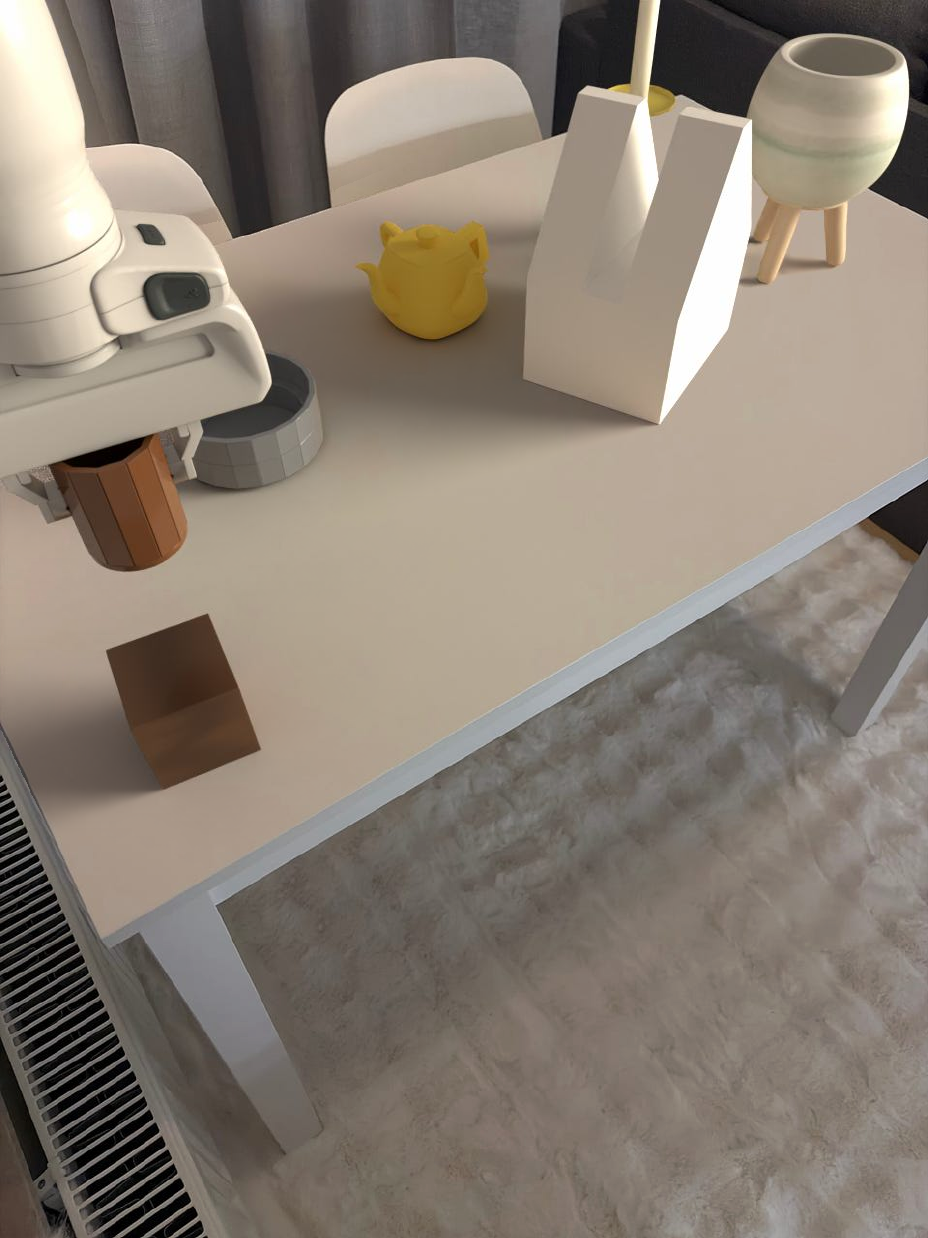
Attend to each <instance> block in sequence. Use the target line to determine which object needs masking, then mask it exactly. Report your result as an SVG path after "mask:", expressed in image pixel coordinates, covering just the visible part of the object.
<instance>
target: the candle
mask: <svg viewBox="0 0 928 1238" xmlns="http://www.w3.org/2000/svg"><path fill="white" fill-rule="evenodd" d="M660 4H661V0H639V4H638V13H637V22H636V31H635V32H636V33H635V40H634V49H633V56H632V57H633V58H632V66H631V75H630V83H625V84H617V85H615V86H612V87H609V88H607V90H612V91H617V92H621V93H626V94H631V95H636V96H641V97H646V98H647V104H648V111H649V118H651V117H656V116H657V117H658V116H662V115H663V114H666V113H669V112H670V111H671V110H672V109H673V108H674V107H675V105H676V95H674V94H673V93H672V92H671V91H670V90H668V89H666V88H663V87H661V86H659V85H652V84H650V83H651V74H652V66H653V60H654V59H653V58H654V51H655V44H656V34H657V26H658V19H659V10H660Z"/></svg>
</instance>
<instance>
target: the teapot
mask: <svg viewBox="0 0 928 1238" xmlns="http://www.w3.org/2000/svg"><path fill="white" fill-rule="evenodd" d="M379 235H380V239H381V240H380V241H381V242H382V246H383V251H382V254H381V256H380V259H379V262H378V265H376V264H374V263H371V262H360V263H357V264H355V265H354V268H355V269H358V270H361V271H363V272H364V273H365V274H366V276H367V278H368V281H369V287H370V294H371V298H372V300H373V302H374V305H376V307H377V308H378V309H379V310H380V311H381V312H382V313H383V314H384V315H385V317H386V318H387V319H388V320H389V321H390V322H391V324H393V325H394V326H395V327H397V328H398V329H399V330H401V331H403V332H405V333H407V334H409V335H411V336H414V337H417V338H420V339H425V340H438V339H442V338H446V337H448V336H451V335H454V334H456V333H458V332H461V331H462V330H463V329H466V328H467V327H469V326H471V325H472V324H473V323H475V322H476V321H477V320H478V319H479V318H480V317H481V316H482V314H483V313H484V311H485V309H486V307H487V304H488V290H487V285H486V280H485V277H484V274H486V273H488V272H489V268H487V267H485V265H486V263H488V260H489V259H490V258H491V256H490V255H491V254H490V250H489V245H488V239H487V234H486V230H485V226H484V225H483V224H481V223H479V222H477V221H474V220H473V221H470V222H469V223H467V224H466V225H464V226H462V227H461V228H460V229H459V228H458V230H456V231H452V230H450V229H448V228H445V227H443V226H440V225H437V224H422V225H421V224H420V225H417V226H414V227H413V228H410V229H407V230H405V231H404V230H403V229H402V228H401V227H399V226H398V225H397V224H395V223H394V222H391V221H384V222H382V223H381V224H380V226H379Z"/></svg>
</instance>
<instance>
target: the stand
mask: <svg viewBox="0 0 928 1238" xmlns="http://www.w3.org/2000/svg"><path fill="white" fill-rule="evenodd" d="M105 653H106V657H107V660H108V663H109V666H110V671H111V673H112V677H113V679H114V683H115V685H116V689H117V693H118V695H119V698H120V702H121V705H122V708H123V712H124V715H125V719H126V721H127V724H128V725H127V726H128V728H129V731H130V732H131V734H132V736H133V737H134V740H135V741H136V743H137V745H138V747H139V749H140V751H141V753H142V754H143V756H144V758H145V759H146V762H147V763H148V765H149V767H150V768H151V770H152V772H153V774H154V776H155V778H156V779H157V781H158V784H159V785H160V787H161V789H162V790H166V789H169V788H171V787H173V786H176V785H178V784H181V783H184V782H186V781H189V780H191V779H193V778H195V777H199V776H200V775H202V774H205V773H207V772H211V771H213V770H215V769H217V768H220V767H223V766H225V765H227V764H230V763H233V762H235V761H236V760H240V759H241V758H244V757H247V756H249V755H252V754H254V753H256V752H260V751H261V750H262V748H261V745H260V742H259V740H258V736H257V734H256V731H255V728H254V726H253V723H252V720H251V717H250V715H249V712H248V709H247V706H246V703H245V700H244V698H243V695H242V693H241V690H240V687H239V684H238V682H237V680H236V677H235V675H234V672H233V670H232V668H231V667H232V666H231V664H230V663H229V660H228V658H227V656H226V653H225V651H224V648H223V646H222V643H221V640H220V637H219V636H218V633H217V631H216V629H215V626H214V624H213V621H212V619H211V616H210V614H209V613H204V614H202V615H199V616H196V617H194V618H190V619H189V620H185V621H183V622H180V623H177V624H175V625H171V626H169V627H166V628H163V629H161V630H160V629H159V630H157V631H155V632H153V633H152V632H151V633H149V634H146V635H143V636H141V637H139V638H136V639H133V640H130V641H127V642H125V643H121V644H118V645H115V646H114V647H111V648H107V649H105Z"/></svg>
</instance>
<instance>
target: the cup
mask: <svg viewBox="0 0 928 1238" xmlns="http://www.w3.org/2000/svg"><path fill="white" fill-rule="evenodd" d="M47 466H48V469H49V470H50V472H51V475H52V477H53V480H55V481H56V483H57V485H58V488H59V490H60V492H61V494H62V496H63V497H64V499H65V501H66V504H67V507H68V509H69V510H70V512H71V514H72V517H71V519H72V520H73V522H74V525H75V527H76V528H77V532H78V533H79V535H80V537H81V540H82V541H83V544H84V546H85V548H86V550H87V552H88V555H90V557H91V559H92V560H93V561H94V562H95V563H97V564H98V565H100V566H101V567H103V568H105V569H107V570H110V571H115V572H123V573H132V572H139V571H144V570H145V571H146V570H147V569H148V570H149V569H151V568H154V567H156V566H160V564H163V563H165V562H166V561H168V560H169V559H170V558H172V557H173V556H174V555H176V554H177V553H178V552H179V550H180V549H181V548H182V546H183V545H184V543H185V541H186V539H187V536H188V529H189V527H188V520H187V517H186V514H185V511H184V508H183V505H182V502H181V499H180V496H179V493H178V490H177V487H176V484H174V483H173V480H172V475H171V474H170V471H169V468H168V463H167V460H166V457H165V454H164V451H163V445H162V442H161V439H160V436H159V432H157V433H154V434H151V435H147V436H144V437H140V438H137V439H134V440H130V441H127V442H124V443H120V444H117V445H113V446H110V447H107V448H103V449H100V450H97V451H93V452H90V453H86V454H83V455H80V456H76V457H73V458H69V459H66V460H63V461H59V462H56V463H52V464H49V465H47Z"/></svg>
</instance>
